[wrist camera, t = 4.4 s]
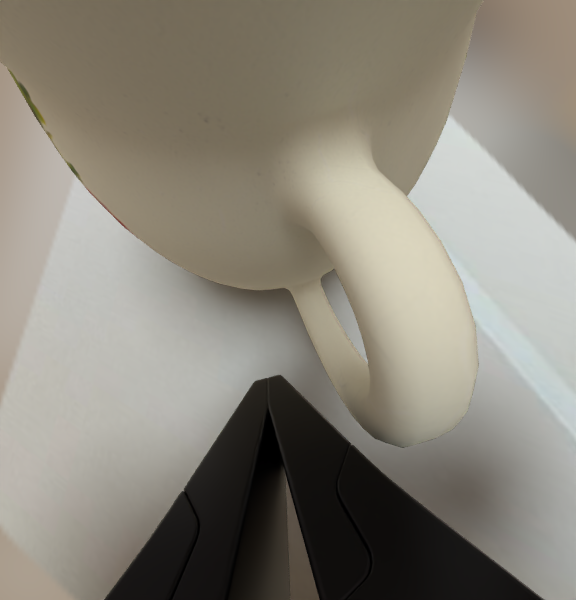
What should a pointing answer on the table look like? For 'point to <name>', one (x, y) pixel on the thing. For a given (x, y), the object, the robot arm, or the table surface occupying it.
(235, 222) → the pitcher
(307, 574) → the table surface
